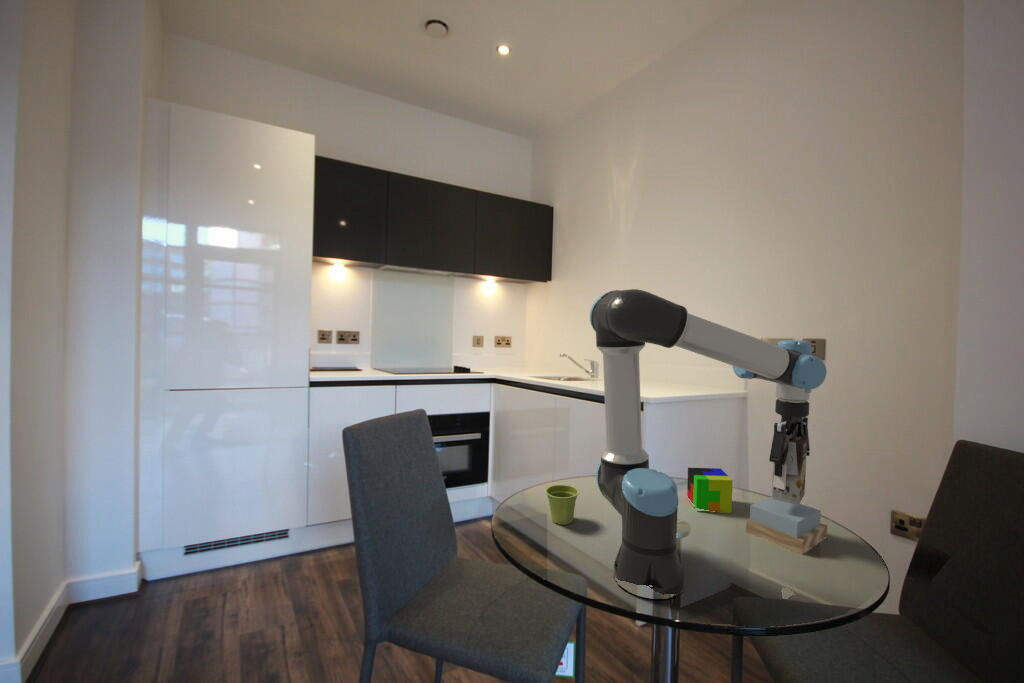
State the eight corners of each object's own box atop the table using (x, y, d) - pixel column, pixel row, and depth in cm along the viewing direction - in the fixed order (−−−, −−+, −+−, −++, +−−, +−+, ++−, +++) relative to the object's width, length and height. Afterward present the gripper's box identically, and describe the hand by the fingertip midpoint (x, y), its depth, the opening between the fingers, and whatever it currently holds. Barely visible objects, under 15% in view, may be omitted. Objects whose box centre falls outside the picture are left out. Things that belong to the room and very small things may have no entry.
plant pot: (552, 530, 127) (552, 499, 127) (541, 515, 136) (541, 486, 136) (583, 525, 130) (584, 495, 129) (570, 511, 139) (570, 483, 138)
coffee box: (799, 506, 117) (802, 443, 116) (771, 499, 121) (773, 438, 120) (805, 494, 124) (807, 435, 123) (778, 488, 129) (780, 431, 127)
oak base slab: (802, 556, 114) (802, 541, 114) (745, 534, 126) (746, 519, 126) (826, 540, 122) (827, 525, 122) (771, 520, 134) (772, 506, 134)
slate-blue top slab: (796, 537, 116) (797, 522, 115) (749, 519, 126) (750, 505, 125) (820, 525, 122) (820, 510, 122) (773, 508, 132) (774, 495, 132)
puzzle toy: (719, 499, 147) (720, 468, 147) (731, 513, 137) (732, 480, 137) (687, 498, 148) (687, 467, 148) (696, 512, 138) (697, 479, 138)
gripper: (787, 407, 111) (783, 498, 113) (826, 396, 125) (823, 477, 126) (755, 402, 117) (752, 488, 119) (796, 392, 131) (793, 470, 132)
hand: (788, 483), depth 123 cm, fingers closed on coffee box, 10 cm apart
